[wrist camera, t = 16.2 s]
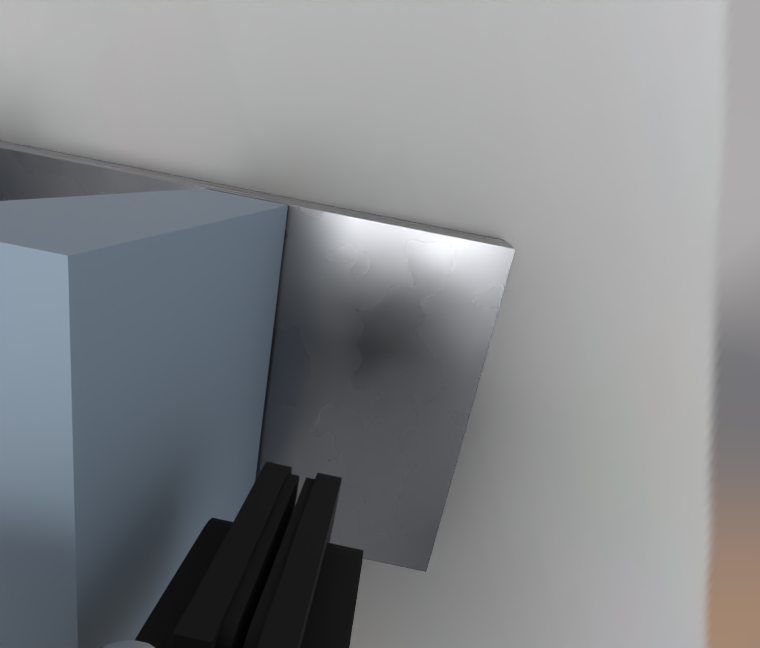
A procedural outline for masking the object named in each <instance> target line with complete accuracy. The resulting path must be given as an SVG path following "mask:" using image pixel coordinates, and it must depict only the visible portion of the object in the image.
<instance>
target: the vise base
mask: <svg viewBox="0 0 760 648" xmlns="http://www.w3.org/2000/svg"><path fill="white" fill-rule="evenodd" d="M201 188H203V189H208V190H214V191H219V192H224V193H229V194H234V195H239V196H244V197H249V198H254V199H259V200H264V201H269V202H274V203H279V204H284V205H288V210H287V218H286V226H285V235H284V243H283V252H282V260H281V268H280V277H279V285H278V294H277V302H276V310H275V319H274V327H273V335H272V344H271V352H270V361H269V369H268V377H267V386H266V394H265V403H264V411H263V419H262V428H261V436H260V445H259V453H258V461H257V470H256V478H255V481H256V479H257V477H258V475H259V474H260V472H261V470H262V468H263V466H264V464H265V463H266V462H271V463H276V464H281V465H285V466H290V467H292V473H291V474H294V475H298V476H299V485H298V491H297V497H296V503H297V500H298V497H299V495H300V492H301V489H302V487H303V484H304V482H305V479H306V477H308V478H312V479H315V478H316V475H317V473H323V474H327V475H332V476H337V477H341V478H342V481H341V487H340V492H339V497H338V502H337V507H336V512H335V518H334V523H333V528H332V533H331V538H330V543H332V544H337V545H341V546H346V547H351V548H355V549H360V550H363V558H364V559H369V560H373V561H378V562H383V563H387V564H392V565H397V566H402V567H406V568H411V569H416V570H420V571H425V572H426V571H427V567H428V564H429V560H430V556H431V553H432V549H433V545H434V542H435V538H436V535H437V531H438V527H439V524H440V520H441V516H442V513H443V509H444V506H445V502H446V498H447V495H448V491H449V488H450V484H451V480H452V477H453V473H454V469H455V466H456V462H457V459H458V455H459V451H460V448H461V444H462V440H463V437H464V433H465V430H466V426H467V422H468V419H469V415H470V411H471V408H472V404H473V401H474V397H475V393H476V390H477V386H478V382H479V379H480V375H481V372H482V368H483V364H484V361H485V357H486V354H487V350H488V346H489V343H490V339H491V335H492V332H493V328H494V325H495V321H496V317H497V314H498V310H499V306H500V303H501V299H502V296H503V292H504V288H505V285H506V281H507V277H508V274H509V270H510V267H511V263H512V259H513V256H514V252H515V249H514V248H513V247H512V246H511V245H509V244H508V243H507V242H505V241H504V240H501V239H496V238H491V237H486V236H481V235H476V234H470V233H465V232H460V231H455V230H450V229H445V228H440V227H435V226H430V225H425V224H420V223H415V222H410V221H404V220H399V219H394V218H389V217H384V216H379V215H374V214H369V213H364V212H359V211H354V210H349V209H343V208H338V207H333V206H328V205H323V204H318V203H313V202H308V201H303V200H298V199H293V198H288V197H283V196H277V195H272V194H267V193H262V192H257V191H252V190H247V189H242V188H237V187H232V186H227V185H222V184H217V183H211V182H206V181H201V180H196V179H191V178H186V177H181V176H176V175H171V174H166V173H161V172H156V171H151V170H145V169H140V168H135V167H130V166H125V165H120V164H115V163H110V162H105V161H100V160H95V159H90V158H85V157H79V156H74V155H69V154H64V153H59V152H54V151H49V150H44V149H39V148H34V147H29V146H24V145H19V144H13V143H8V142H3V141H0V201H8V200H24V199H40V198H56V197H72V196H88V195H104V194H120V193H136V192H153V191H169V190H185V189H201ZM296 503H295V505H296Z"/></svg>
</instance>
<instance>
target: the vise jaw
mask: <svg viewBox="0 0 760 648" xmlns="http://www.w3.org/2000/svg"><path fill="white" fill-rule="evenodd" d="M287 210H288V205H284V204H279V203H274V202H269V201H264V200H259V199H254V198H249V197H244V196H239V195H234V194H229V193H224V192H219V191H214V190H208V189H203V188H201V189H185V190H169V191H153V192H136V193H120V194H104V195H88V196H72V197H56V198H40V199H24V200H8V201H0V648H100V647H102V646H105V645H108V644H111V643H114V642H117V641H128V640H135V638H136V637H137V635H138V634H139V632H140V630H141V629H142V627H143V625H144V624H145V622H146V621H147V619H148V617H149V616H150V614H151V612H152V611H153V609H154V608H155V606H156V604H157V603H158V601H159V599H160V598H161V596H162V595H163V593H164V591H165V590H166V588H167V586H168V585H169V583H170V581H171V580H172V578H173V577H174V575H175V573H176V572H177V570H178V568H179V567H180V565H181V564H182V562H183V560H184V559H185V557H186V555H187V554H188V552H189V551H190V549H191V547H192V546H193V544H194V542H195V541H196V539H197V538H198V536H199V534H200V533H201V531H202V529H203V528H204V526H205V525H206V523H207V522H208V521H209V520H210V519H211V518H212V517H213V518H217V519H222V520H226V521H231V522H234V520H235V518H236V516H237V514H238V512H239V511H240V509H241V507H242V505H243V503H244V501H245V499H246V498H247V496H248V494H249V492H250V490H251V488H252V487H253V485H254V483H255V478H256V470H257V461H258V453H259V445H260V436H261V428H262V419H263V411H264V403H265V394H266V386H267V377H268V369H269V361H270V352H271V344H272V335H273V327H274V319H275V310H276V302H277V294H278V285H279V277H280V268H281V260H282V252H283V243H284V235H285V226H286V218H287Z"/></svg>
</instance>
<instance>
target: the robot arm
mask: <svg viewBox="0 0 760 648" xmlns="http://www.w3.org/2000/svg"><path fill="white" fill-rule="evenodd" d="M291 473H292V467H290V466H285V465H281V464H276V463H271V462H266V463H265V464H264V466H263V468H262V470H261V472H260V474H259V475H258V477H257V479H256V481H255V483H254V485H253V487H252V488H251V490H250V492H249V494H248V496H247V498H246V499H245V501H244V503H243V505H242V507H241V509H240V511H239V512H238V514H237V516H236V518H235V520H234V522H231V521H226V520H222V519H217V518H213V517H212V518H211V519H210V520H209V521H208V522H207V523H206V525H205V526H204V528H203V529H202V531H201V533H200V534H199V536H198V538H197V539H196V541H195V542H194V544H193V546H192V547H191V549H190V551H189V552H188V554H187V555H186V557H185V559H184V560H183V562H182V564H181V565H180V567H179V568H178V570H177V572H176V573H175V575H174V577H173V578H172V580H171V581H170V583H169V585H168V586H167V588H166V590H165V591H164V593H163V595H162V596H161V598H160V599H159V601H158V603H157V604H156V606H155V608H154V609H153V611H152V612H151V614H150V616H149V617H148V619H147V621H146V622H145V624H144V625H143V627H142V629H141V630H140V632H139V634H138V635H137V637H136V638H135V640H128V641H117V642H114V643H111V644H108V645H105V646H102V647H100V648H349V645H350V638H351V632H352V625H353V619H354V612H355V605H356V599H357V592H358V585H359V579H360V572H361V566H362V559H363V550H360V549H355V548H351V547H346V546H341V545H337V544H332V543H330V538H331V533H332V528H333V523H334V518H335V512H336V507H337V502H338V497H339V492H340V487H341V481H342V478H341V477H337V476H332V475H327V474H323V473H317V475H316V478H315V479H312V478H308V477H306V479H305V482H304V484H303V487H302V489H301V492H300V495H299V497H298V500H297V503H296V497H297V491H298V485H299V476H298V475H294V474H291ZM295 503H296V505H295Z"/></svg>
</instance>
